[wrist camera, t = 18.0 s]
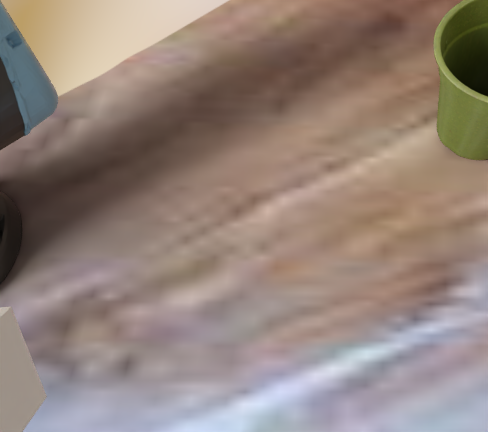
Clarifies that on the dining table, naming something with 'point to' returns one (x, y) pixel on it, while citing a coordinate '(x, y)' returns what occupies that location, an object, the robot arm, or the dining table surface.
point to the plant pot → (463, 79)
